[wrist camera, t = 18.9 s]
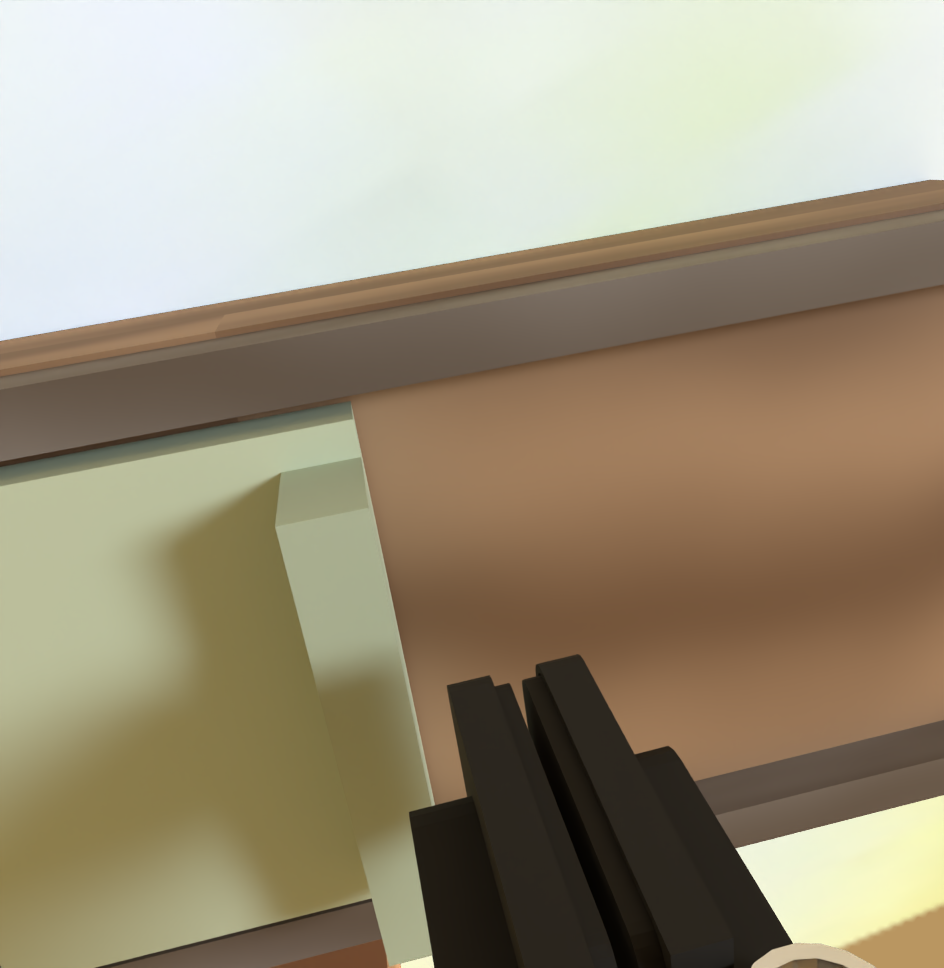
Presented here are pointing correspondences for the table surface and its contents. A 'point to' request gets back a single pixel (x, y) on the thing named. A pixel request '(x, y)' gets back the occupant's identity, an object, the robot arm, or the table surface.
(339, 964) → the block
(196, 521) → the lid
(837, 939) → the table surface
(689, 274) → the puzzle board
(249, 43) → the table surface
